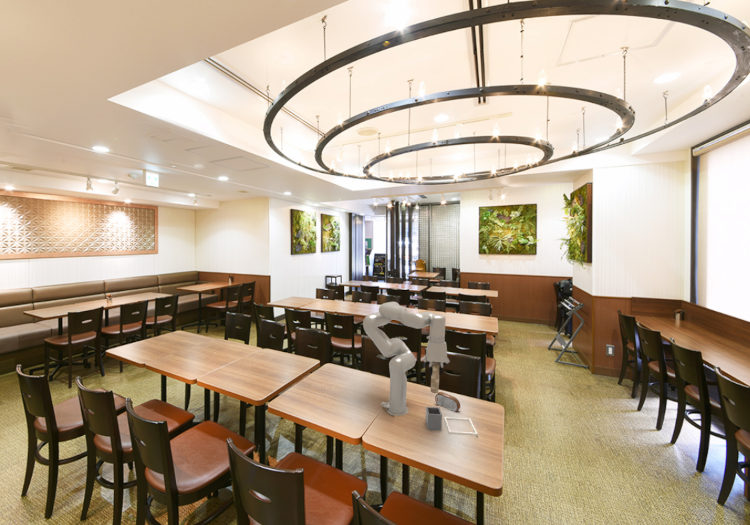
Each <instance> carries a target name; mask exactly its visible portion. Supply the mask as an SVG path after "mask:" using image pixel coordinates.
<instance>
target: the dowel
mask: <svg viewBox="0 0 750 525" xmlns="http://www.w3.org/2000/svg"><path fill="white" fill-rule="evenodd" d="M439 371H440V363H438V362H432V375H430V392H431V393H432V394H438V393H439V390H440V387H439V386H440V375H439Z"/></svg>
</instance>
